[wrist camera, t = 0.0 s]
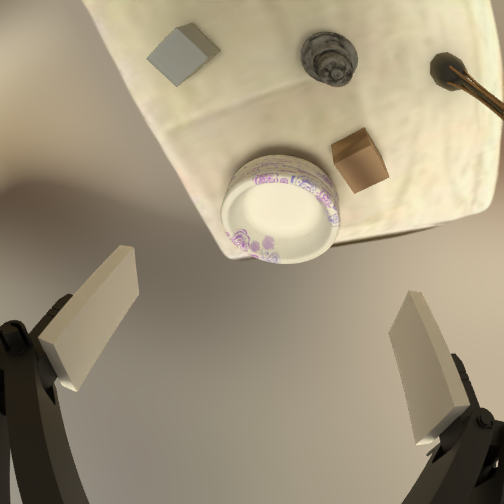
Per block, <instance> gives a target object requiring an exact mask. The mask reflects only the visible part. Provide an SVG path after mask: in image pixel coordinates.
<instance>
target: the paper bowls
mask: <svg viewBox="0 0 504 504" xmlns="http://www.w3.org/2000/svg"><path fill="white" fill-rule="evenodd" d="M221 222H222V225H223V228H224V230H225V232H226V234H227V236H228V237H229V238H230V240H231V241H232V242H233V243H234V244H235V245H236V246H237V247H238V248H240V249H241V250H243V251H244V252H246V253H247V254H249V255H251V256H253V257H255V258H258V259H261V260H264V261H268V262H273V263H281V264H283V263H284V264H292V263H300V262H304V261H308V260H311V259H313V258H315V257H317V256H319V255H321V254H323V253H324V252H325V251H326V250H328V249H329V248H330V247H331V245H332V244H333V243H334V241H335V240H336V238H337V235H338V232H339V228H340V209H339V199H338V194H337V191H336V188H335V186H334V184H333V182H332V181H331V179H330V178H329V177H328V176H327V175H326V174H325V173H324V172H323V171H322V170H321V169H320V168H319V167H317V166H316V165H314V164H313V163H311V162H309V161H306V160H304V159H301V158H298V157H294V156H287V155H267V156H263V157H260V158H257V159H254V160H252V161H250V162H248V163H246V164H245V165H244V166H242V167H241V168H240V169H239V170H238V171H237V172H236V174H235V175H234V176H233V178H232V180H231V182H230V184H229V187H228V189H227V192H226V195H225V197H224V200H223V203H222V206H221Z"/></svg>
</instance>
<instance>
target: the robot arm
mask: <svg viewBox="0 0 504 504" xmlns="http://www.w3.org/2000/svg"><path fill="white" fill-rule="evenodd" d="M138 295H139V288H138V281H137V272H136V262H135V253H134V247H128V246H122V245H120V246H119V247H118V248H117V249H116V250H115V251H114V252H113V253H112V254H111V255H110V256H109V257H108V258H107V259H106V260H105V261H104V263H103V264H102V265H101V266H100V267H99V268H98V269H97V270H96V271H95V272H94V273H93V274H92V275H91V276H90V277H89V279H88V280H87V281H86V282H85V283H84V284H83V285H82V286H81V287H80V289H79V290H78V291H77V292H76V293H75V294H74V295H71V294H67V295H65V296H64V297H62V298H60V299H59V300H58V301H57V302H56V303H55V304H54V305H53V306H52V309H50V310H49V311H48V312H47V314H46V315H45V316H44V317H43V318H42V319H41V320H40V322H39V323H38V324H37V325H36V326H35V327H34V328H33V330H32V331H31V332H30V333H29V334H28V332H27V330H26V328H25V325H24V324H23V323H22V322H21V321H18V320H11V321H8V322H6V323H4V324H3V325H2V326H0V504H10V448H11V454H12V460H13V465H14V470H15V475H16V479H17V484H18V488H19V492H20V495H21V499H22V503H23V504H89V502H88V499H87V497H86V494H85V492H84V489H83V486H82V484H81V481H80V478H79V475H78V472H77V469H76V466H75V463H74V460H73V457H72V454H71V450H70V447H69V443H68V440H67V436H66V432H65V428H64V424H63V420H62V415H61V411H60V406H59V401H58V396H57V391H56V387H55V384H54V381H55V380H56V378H57V377H58V379H59V381H60V382H61V384H62V386H65V387H67V388H69V389H71V390H74V391H76V392H78V390H79V388H80V386H81V385H82V383H83V381H84V380H85V378H86V376H87V375H88V373H89V371H90V370H91V368H92V366H93V365H94V363H95V361H96V360H97V358H98V356H99V355H100V353H101V351H102V350H103V348H104V347H105V345H106V344H107V342H108V340H109V339H110V337H111V336H112V334H113V333H114V331H115V329H116V328H117V326H118V324H119V323H120V322H121V320H122V319H123V317H124V316H125V314H126V313H127V311H128V309H129V308H130V307H131V305H132V304H133V302H134V301H135V299H136V298H137V296H138ZM389 337H390V340H391V343H392V347H393V350H394V354H395V357H396V361H397V365H398V368H399V372H400V376H401V380H402V384H403V388H404V392H405V396H406V400H407V405H408V410H409V414H410V419H411V424H412V428H413V434H414V439H415V445H419V444H428V443H431V442H432V441H434V440H435V439H436V438H437V437H438V436H439V438H440V443H439V444H438V445H436V446H435V447H434V448H433V449H432V450H431V451H429V452H428V454H427V456H429V455H430V454H431V453H432V456H431V457H430V459H429V461H428V462H427V464H426V466H425V468H424V470H423V471H422V473H421V474H420V476H419V478H418V480H417V481H416V483H415V484H414V486H413V487H412V489H411V491H410V492H409V493H408V495H407V496H406V498H405V499H404V501H403V502H402V504H504V422H502V421H497V420H494V417H493V415H492V414H491V412H489V411H488V410H487V409H485V408H480V406H479V403H478V401H477V398H476V395H475V392H474V390H473V387H472V385H471V382H470V381H469V377H468V375H467V373H466V370H465V367H464V365H463V363H462V361H461V360H460V359H459V358H458V357H457V355H456V354H450V351H449V349H448V347H447V345H446V342H445V340H444V338H443V336H442V333H441V331H440V329H439V327H438V325H437V323H436V321H435V318H434V317H433V315H432V312H431V310H430V308H429V306H428V304H427V302H426V300H425V299H424V296H423V294H422V293H421V292H414V291H408V293H407V295H406V298H405V300H404V302H403V304H402V306H401V308H400V311H399V313H398V315H397V317H396V319H395V321H394V323H393V325H392V327H391V329H390V331H389ZM498 460H499V461H498ZM497 461H498V467H496V462H497Z"/></svg>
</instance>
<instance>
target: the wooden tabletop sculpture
mask: <svg viewBox="0 0 504 504" xmlns="http://www.w3.org/2000/svg"><path fill="white" fill-rule="evenodd" d="M430 74H431V76H432V77H433V79H434V81H435V82H436V84H437V85H439V86H441V87H443V88H445V89H447V90H449V91H455V90H460V89H462V90H464V91H465V92H467V93H469V94H470V95H472V96H473V97H475V98H477V99H478V100H479V101H481V102H482V103H483V104H484V105H486V106H487V107H488V108H490V109H491V110H492V111H493V112H494V113H495V114H497V115H498V116H499V117H500V118H501V119H502V120H503V121H504V103H503V102H501V101H500V100H499V99H497V98H496V97H495V96H494V95H492V94H491V93H490V92H488V91H487V90H486V89H485V88H483V87H482V86H481V85H480V84H479V83H477V82H476V81H475V80H474V79H473V78H472V77H471V76H470V75H469V74H468V72H467V69H466V68H465V66H464V64H463V62H462V61H461V60H460V59H459V58H457V57H455V56H453V55H451V54H449V53H448V52H447V53H441V54H437V55H436V56H435V57H434V59H433V60H432V61H431V67H430ZM468 78H469V79H470V80H471V81H472V82H471V81H470V80H469V79H468ZM474 83H475V84H476V85H475V84H474Z"/></svg>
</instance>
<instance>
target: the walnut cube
mask: <svg viewBox="0 0 504 504" xmlns="http://www.w3.org/2000/svg"><path fill="white" fill-rule="evenodd" d="M331 146H332V153H333V161H334V165H335V166H336V168H337V169H338V171H339V172H340V174H341V175H342V176H343V178H344V179H345V181H346V182H347V184H348V185H349V187H350V188H351V190H352V191H353V193H354V194H355V193H357V192H359V191H362V190H364V189H366V188H368V187H370V186H372V185H374V184H376V183H378V182H381V181H383V180H385V179H387V178H389V175H388V172H387V169H386V166H385V164H384V161H383V159H382V156H381V155H380V153H379V151H378V149H377V148H376V146H375V144H374V143H373V141H372V139H371V138H370V136H369V134H368V133H367V131H366V130H365V128H363V129H361V130H359V131H357V132H355V133H353V134H351V135H349V136H347V137H346V138H344V139H342V140H340V141H338V142H336V143H334V144H332V145H331Z"/></svg>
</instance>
